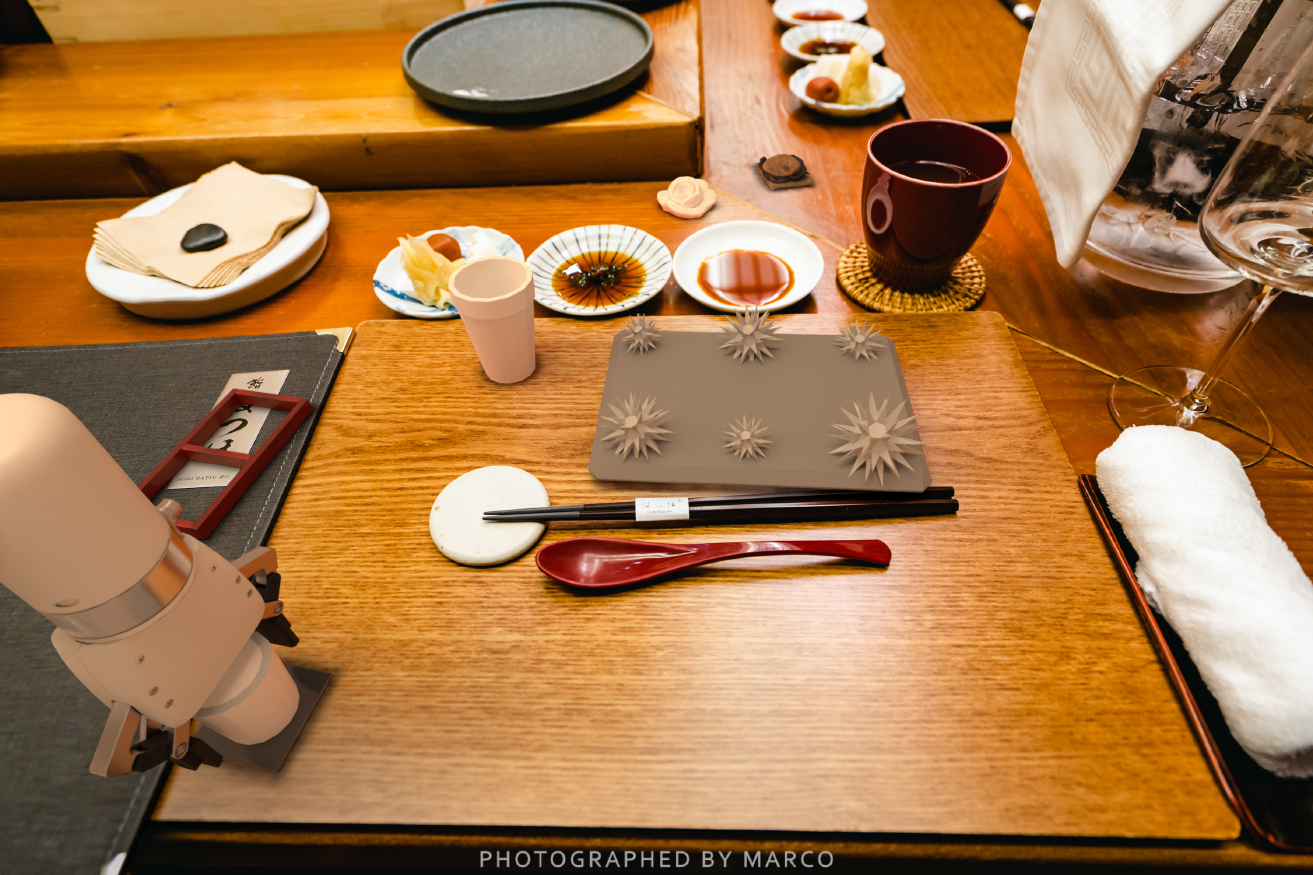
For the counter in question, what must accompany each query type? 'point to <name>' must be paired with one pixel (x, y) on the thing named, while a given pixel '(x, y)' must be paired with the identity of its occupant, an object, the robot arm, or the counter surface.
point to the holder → (227, 454)
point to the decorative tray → (758, 409)
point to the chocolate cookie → (783, 171)
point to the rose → (687, 197)
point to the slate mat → (279, 746)
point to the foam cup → (498, 314)
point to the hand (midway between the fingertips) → (245, 696)
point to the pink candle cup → (251, 696)
